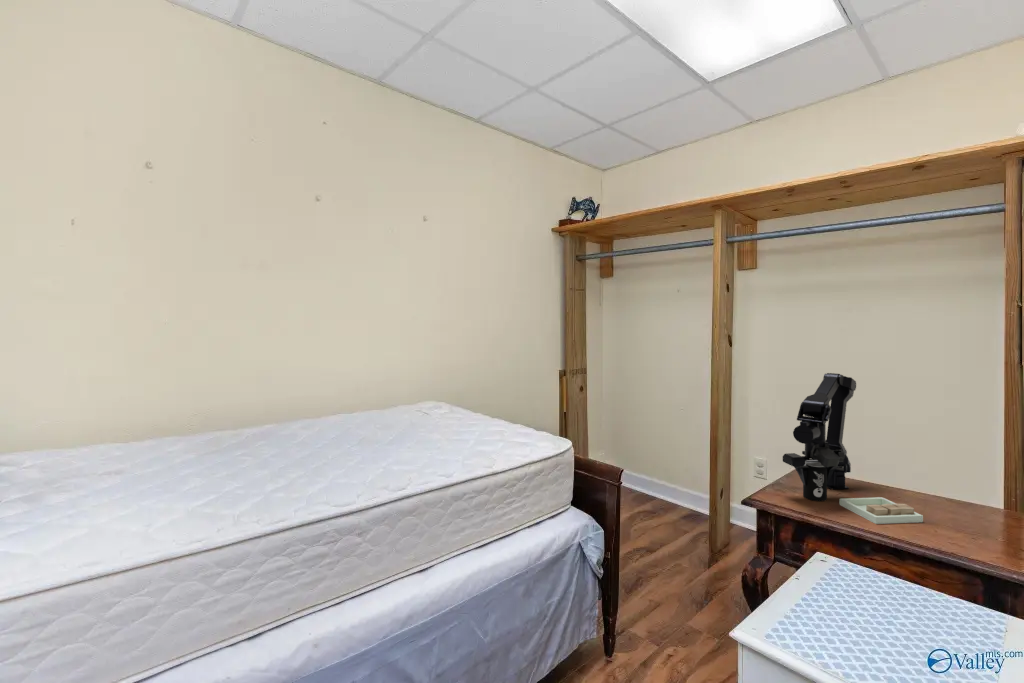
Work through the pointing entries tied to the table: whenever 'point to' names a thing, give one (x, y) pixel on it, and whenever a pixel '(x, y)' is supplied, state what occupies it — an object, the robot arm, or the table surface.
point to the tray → (860, 508)
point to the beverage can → (816, 482)
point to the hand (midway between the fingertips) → (815, 484)
